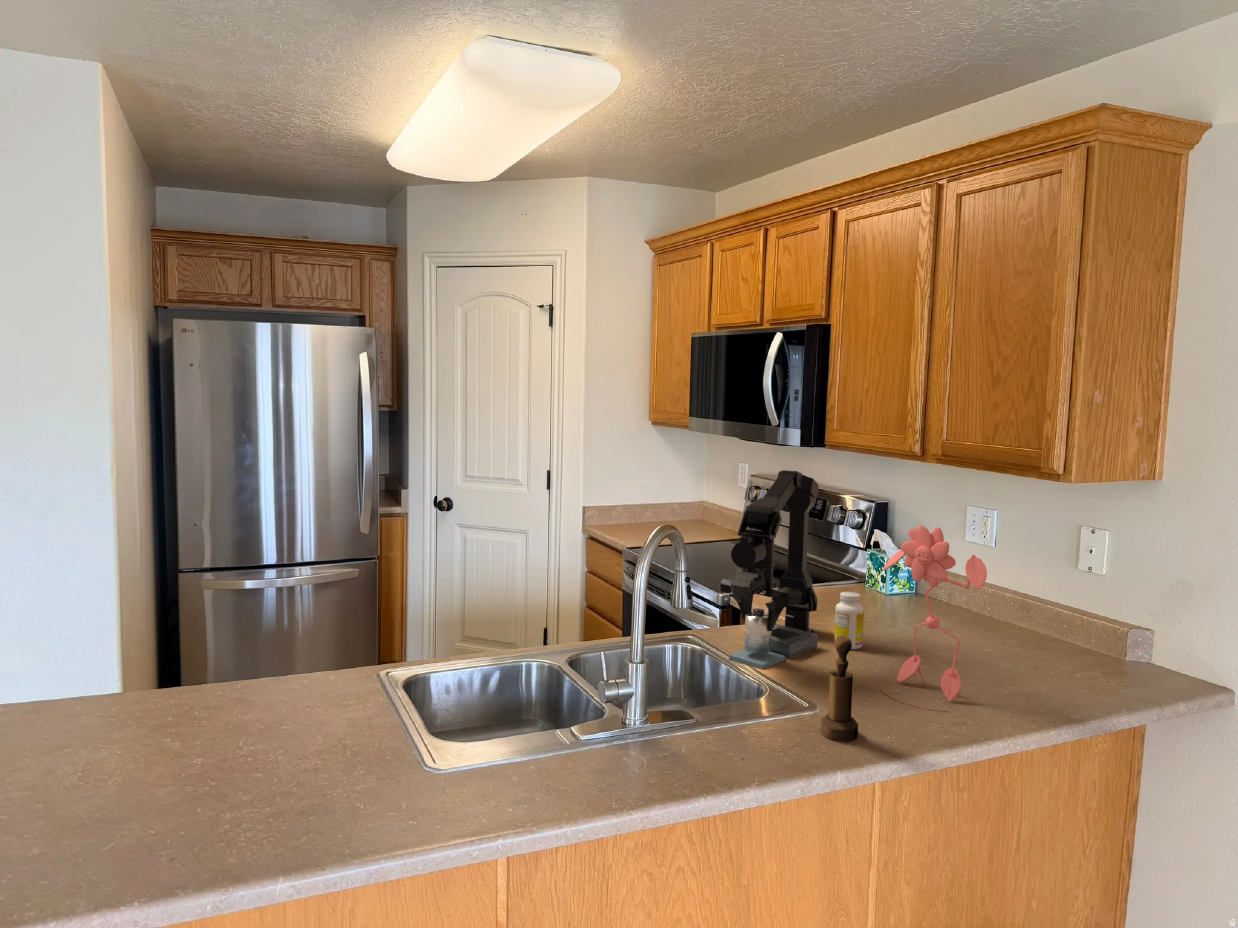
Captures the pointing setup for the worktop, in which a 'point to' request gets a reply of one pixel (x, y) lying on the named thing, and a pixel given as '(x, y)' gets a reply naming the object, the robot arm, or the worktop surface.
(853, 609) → the supplement bottle
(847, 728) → the mortar and pestle
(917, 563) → the figurine
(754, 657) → the mat
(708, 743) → the worktop surface
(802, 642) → the frame
